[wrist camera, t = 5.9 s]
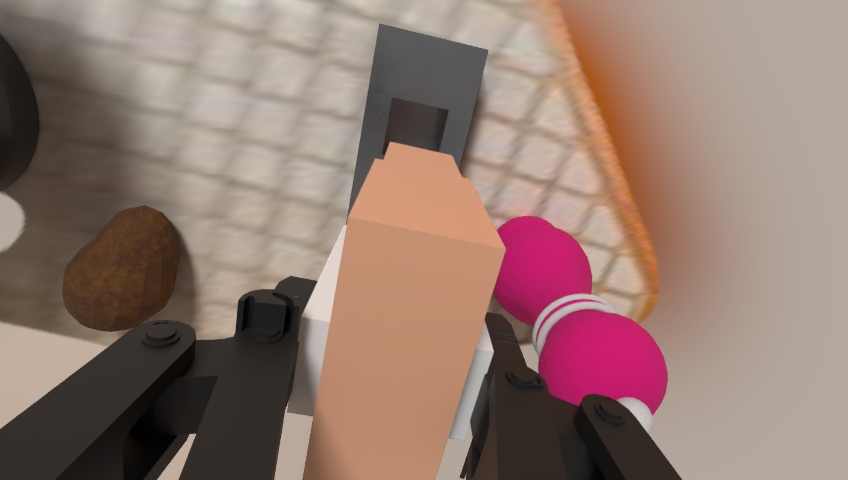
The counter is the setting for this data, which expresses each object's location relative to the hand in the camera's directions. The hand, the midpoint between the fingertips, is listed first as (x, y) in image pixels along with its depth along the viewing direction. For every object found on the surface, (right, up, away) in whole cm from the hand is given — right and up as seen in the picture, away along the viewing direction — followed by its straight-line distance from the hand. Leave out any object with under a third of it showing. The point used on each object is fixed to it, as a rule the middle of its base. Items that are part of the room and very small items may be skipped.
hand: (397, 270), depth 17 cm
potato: (-21, 0, +20) cm, 29 cm away
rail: (0, +7, +18) cm, 19 cm away
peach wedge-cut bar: (0, +1, +2) cm, 3 cm away
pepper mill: (+9, 0, +21) cm, 23 cm away
